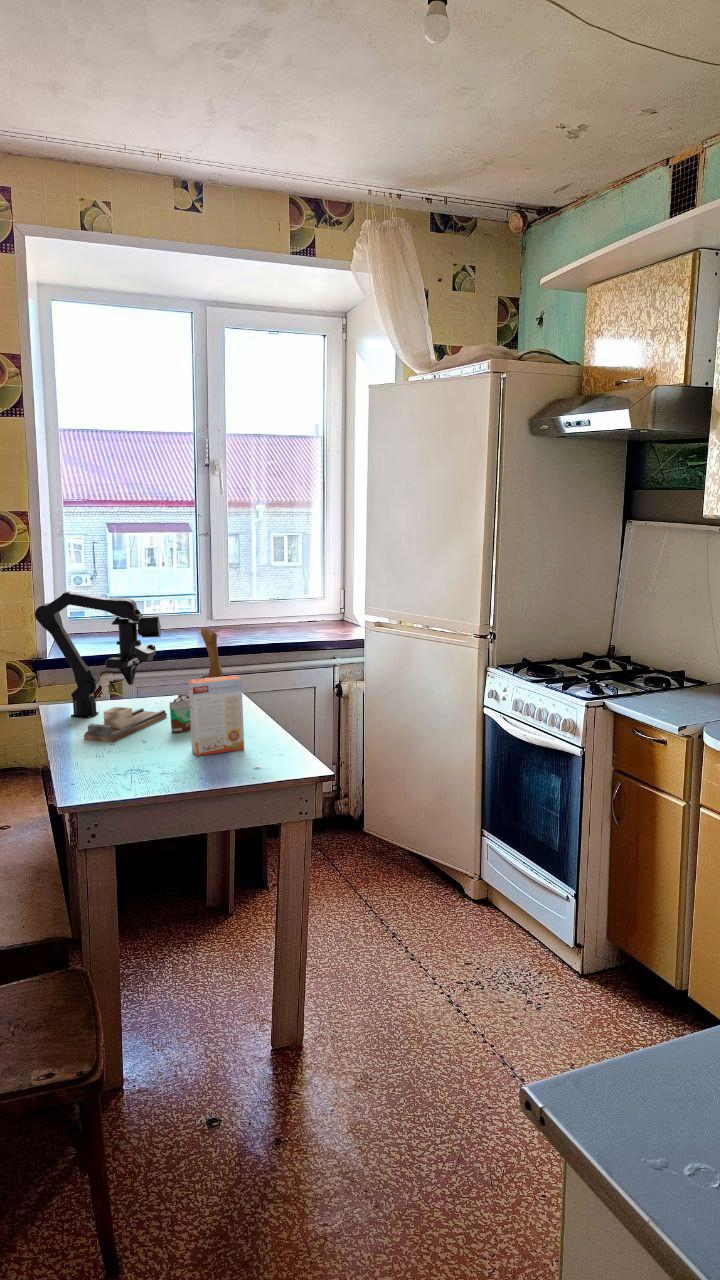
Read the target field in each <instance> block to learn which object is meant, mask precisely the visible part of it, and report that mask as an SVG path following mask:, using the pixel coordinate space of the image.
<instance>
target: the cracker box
mask: <svg viewBox="0 0 720 1280" xmlns="http://www.w3.org/2000/svg"><path fill="white" fill-rule="evenodd" d="M242 680H243V679H242V678H241V677H240V676H237V675H235V674H234V675H227V676H226V675H225V676H224V675H223V677H213V678H208V677H205V678H195V679H189V680H188V695H189V704H190V723H191V730H190V739H191V751H192V753H193V754H194V755H195V756H196V757H200V756H207V755H213V754H214V755H215V754H223V753H228V752H229V753H230V752H237V751H243V750H245V738H244V737H245V734H244V709H243V683H242Z"/></svg>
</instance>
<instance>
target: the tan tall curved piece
mask: <svg viewBox="0 0 720 1280" xmlns="http://www.w3.org/2000/svg"><path fill="white" fill-rule="evenodd" d="M200 635H201V637H202V639H203V641H204V644H205V648H206V650H207V653H208V659H209V670H208V677H207V678H213V677H223V676H224V675H223V670H222V666H221V662H220V658H219V650H218V635H217V633H216V632H214V631H213V630H212V629H208V628H206V627H204V626H202V628H201V629H200Z"/></svg>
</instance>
